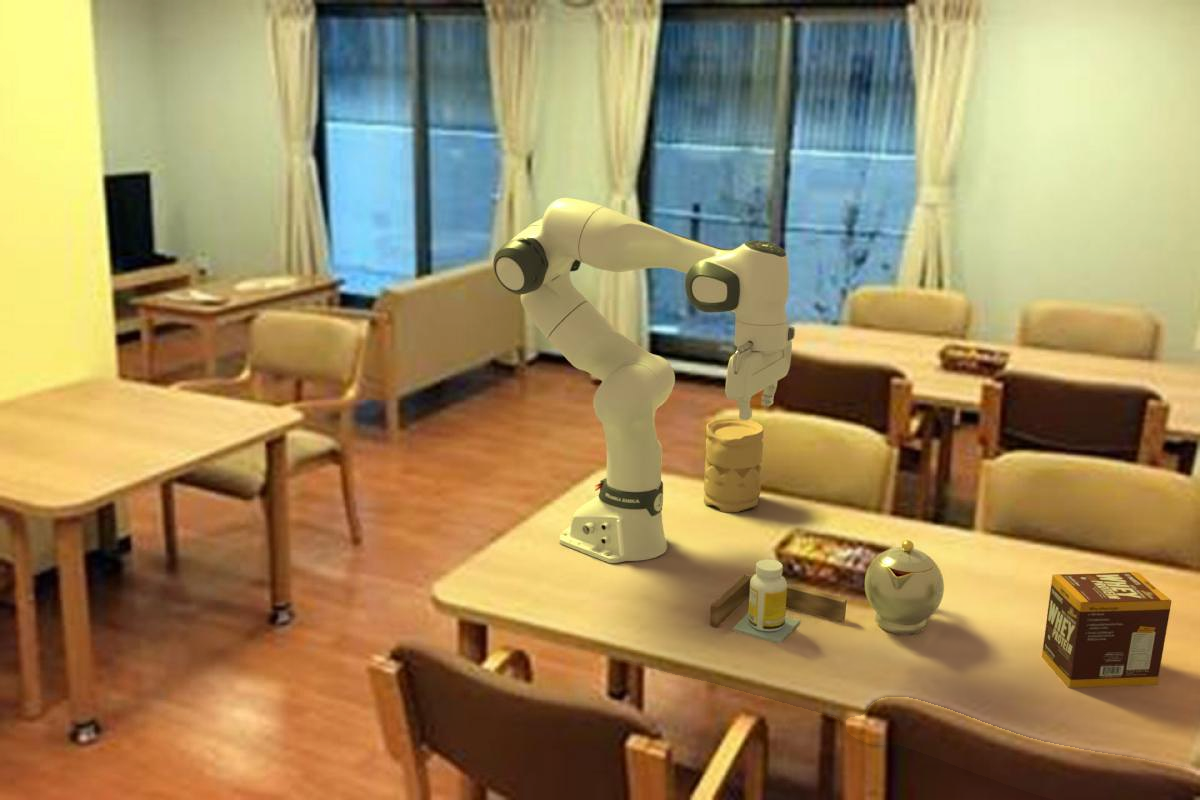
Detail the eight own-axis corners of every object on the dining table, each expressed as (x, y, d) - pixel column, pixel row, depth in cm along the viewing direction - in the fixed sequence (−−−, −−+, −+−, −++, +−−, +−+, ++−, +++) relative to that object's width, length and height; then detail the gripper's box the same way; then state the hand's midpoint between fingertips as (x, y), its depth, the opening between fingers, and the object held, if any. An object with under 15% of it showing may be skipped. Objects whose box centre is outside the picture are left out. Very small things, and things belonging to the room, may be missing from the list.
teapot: (930, 651, 202) (939, 564, 198) (852, 634, 208) (859, 549, 203) (949, 608, 218) (958, 526, 213) (876, 593, 224) (883, 513, 219)
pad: (732, 630, 209) (732, 628, 209) (753, 610, 216) (753, 608, 216) (780, 643, 205) (780, 641, 204) (799, 622, 212) (799, 620, 212)
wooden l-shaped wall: (709, 625, 211) (710, 605, 209) (745, 592, 223) (746, 573, 222) (814, 655, 201) (815, 633, 200) (845, 618, 214) (846, 598, 212)
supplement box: (1039, 656, 201) (1051, 573, 197) (1126, 653, 203) (1139, 570, 198) (1067, 688, 192) (1080, 601, 187) (1158, 685, 193) (1173, 599, 188)
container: (745, 517, 258) (749, 439, 253) (694, 505, 264) (696, 429, 259) (768, 498, 268) (772, 423, 263) (718, 488, 274) (721, 414, 269)
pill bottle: (792, 625, 210) (796, 566, 207) (767, 636, 206) (770, 576, 203) (765, 612, 215) (768, 553, 211) (740, 623, 211) (743, 563, 207)
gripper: (752, 351, 194) (748, 431, 198) (799, 326, 211) (794, 400, 215) (717, 346, 197) (714, 424, 202) (766, 322, 214) (762, 395, 218)
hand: (756, 412), depth 209 cm, fingers open, 8 cm apart
